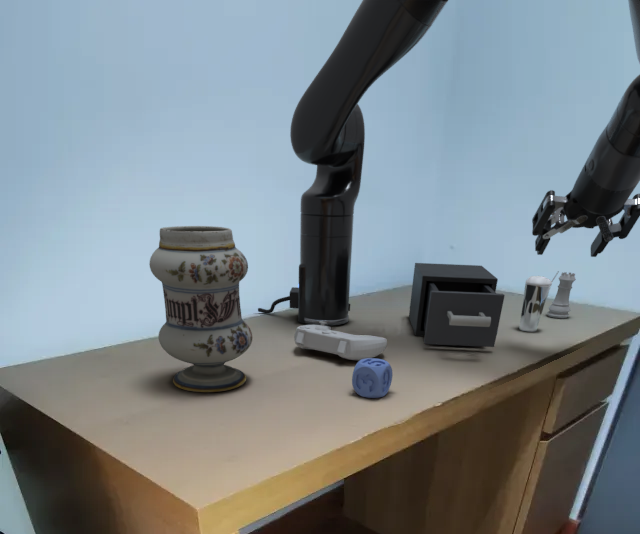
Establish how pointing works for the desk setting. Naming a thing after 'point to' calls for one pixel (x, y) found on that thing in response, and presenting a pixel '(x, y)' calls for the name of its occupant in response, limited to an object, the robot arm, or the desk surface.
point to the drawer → (461, 314)
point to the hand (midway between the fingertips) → (565, 251)
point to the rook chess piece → (562, 297)
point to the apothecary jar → (202, 305)
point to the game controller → (339, 342)
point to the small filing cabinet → (442, 274)
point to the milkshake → (534, 301)
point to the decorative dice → (372, 377)
